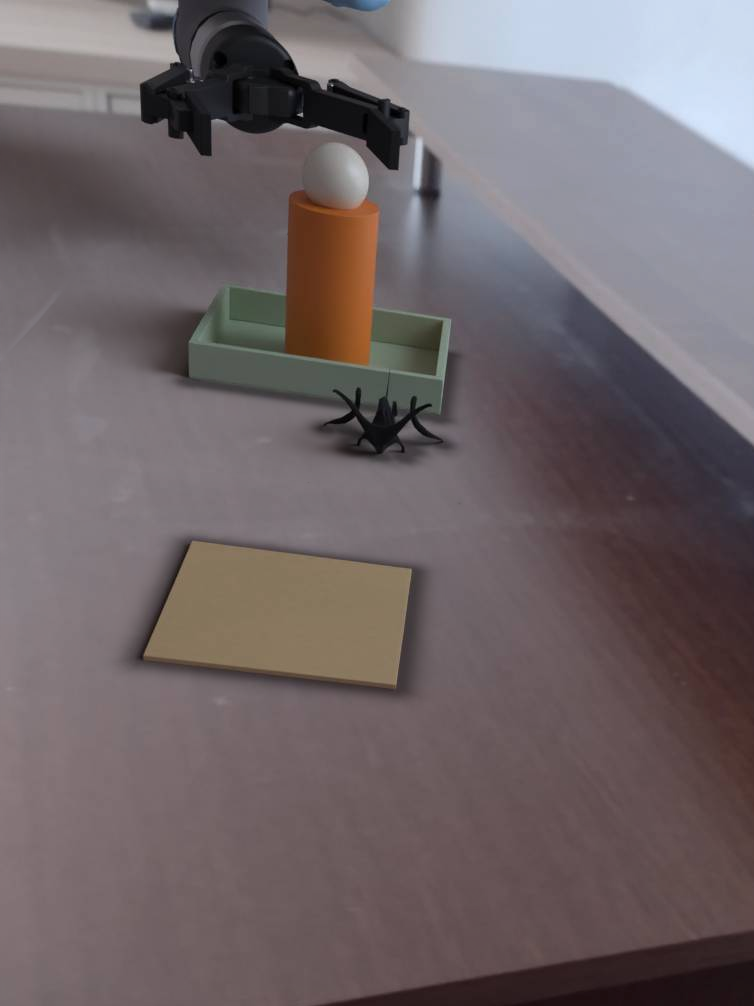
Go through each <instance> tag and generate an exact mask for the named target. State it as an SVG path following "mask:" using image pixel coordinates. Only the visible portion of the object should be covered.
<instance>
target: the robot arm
mask: <svg viewBox="0 0 754 1006" xmlns="http://www.w3.org/2000/svg"><path fill="white" fill-rule="evenodd" d="M322 1H323V2H325V3H328V4H330V5H331V6H333V7H335V8H343V7H344V8H348V9H351V10H356V11H360V12H374V11H378V10H380V9H382V8H383V7H385V6H387V4H388V3H389V2H391V0H322ZM177 5H178V6H177V8H176V11H175V14H174V16H173V20H172V28H171V29H172V31H171V32H172V39H173V45H174V46H173V47H174V50H175V53H176V54H177V56H178V59H179V61H174V62H170V63H169V69H167V70H165V71H163V72H160V73H158V74H156V75H155V76H152V77H150V78H148V79H147V80H145V81H143V82H140V83H139V100H140V101H139V102H140V103H139V104H140V121H141V122H142V123H144V124H147V125H154V124H159V123H160V122H162V121H164V120H167V137H168V138H171V139H175V140H184V139H185V134H187V136H188V138H189V139H190V141H191V142H192V144H193V145H194V147H195V149H196V151H197V152H198V154H199V155H200V156H201V157H212V156H213V151H212V150H213V148H212V147H213V146H212V145H213V144H212V143H213V142H212V141H213V140H212V138H213V137H212V121H214V120H220V121H224V122H225V123H226V124H228V125H230V126H231V127H232V128H234V129H236V130H237V131H240V132H243V133H246V134H254V135H260V134H267V133H271V132H273V131H275V130H277V129H279V128H281V127H282V126H283V125H285V124H289V125H292V126H295V127H298V128H301V129H305V130H309V129H315V128H318V127H319V128H323V129H327V130H329V131H333V132H337V133H339V134H342V135H346V136H348V137H352V138H356V139H358V140H362V141H365V146H366V148H367V149H368V150H369V151H370V152H371V153H372V154H373V156H375V158H377V159H378V160H379V161H380V162H381V163H382V164H383V166H384V167H385V168H386V169H387V170H389V171H390V170H391V171H399V167H400V153H401V152H400V151H401V147H403V146H407V145H408V144H409V130H410V115H411V110H410V109H407V108H406V107H405V106H400V105H398V104H395V103H393V102H391V99H390V98H389V97H387V98H379V97H378V96H375V95H372V94H370V93H366V92H365V91H362V90H359V89H357V88H353V87H351V86H350V85H348V84H347V83H345V82H344V81H342V80H340V79H339V78H330V79H327V80H328V81H327V83H326V89H324V88H323V87H321V84H320V82H319V81H318V80H316V79H312V78H309V77H306V76H303V75H300V74H299V71H298V68H297V66H296V63H295V61H294V60H293V58H292V56H291V54H290V53H289V52H288V50H287V49H286V48H285V47H284V46H283V45H282V43H280V41H279V40H277V39H276V37H275V36H274V35H273V34H272V32H271V31H269V0H177ZM301 114H302V116H301Z"/></svg>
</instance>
